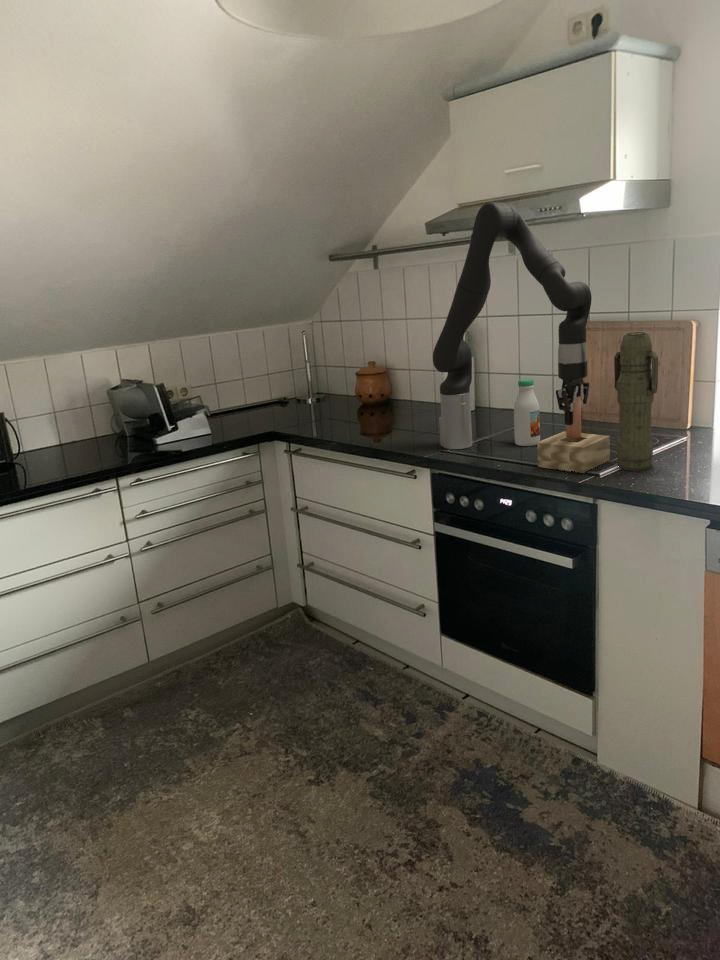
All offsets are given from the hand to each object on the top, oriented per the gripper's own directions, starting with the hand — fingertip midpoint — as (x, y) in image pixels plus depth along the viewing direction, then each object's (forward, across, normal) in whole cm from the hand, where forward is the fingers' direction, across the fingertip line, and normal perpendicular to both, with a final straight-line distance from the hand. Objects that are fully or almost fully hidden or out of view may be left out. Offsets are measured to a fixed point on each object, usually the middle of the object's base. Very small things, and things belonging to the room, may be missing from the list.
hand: (573, 422), depth 202 cm
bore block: (+12, 0, 0) cm, 12 cm away
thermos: (+12, -5, +15) cm, 20 cm away
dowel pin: (+4, 0, 0) cm, 4 cm away
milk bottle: (+12, -14, -24) cm, 30 cm away
